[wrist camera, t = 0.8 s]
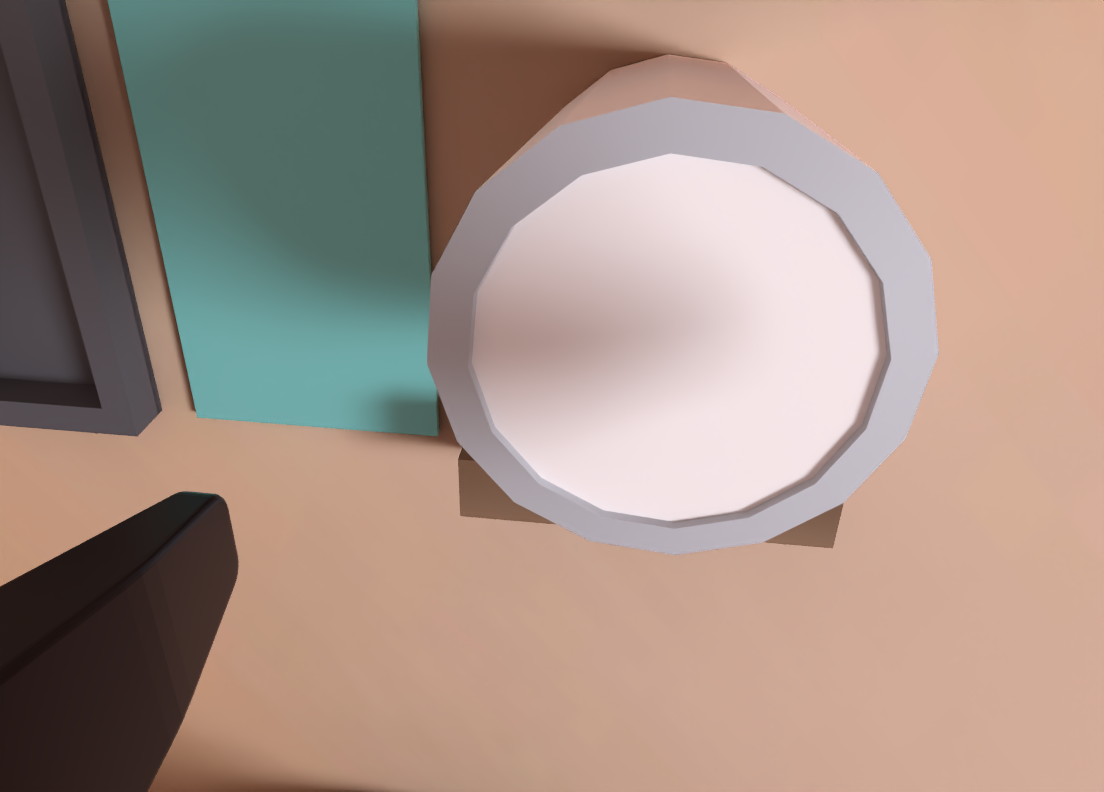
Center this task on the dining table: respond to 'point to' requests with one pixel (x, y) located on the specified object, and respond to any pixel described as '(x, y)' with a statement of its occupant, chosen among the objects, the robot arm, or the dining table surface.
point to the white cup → (681, 315)
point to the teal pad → (289, 203)
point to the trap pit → (61, 246)
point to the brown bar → (493, 503)
